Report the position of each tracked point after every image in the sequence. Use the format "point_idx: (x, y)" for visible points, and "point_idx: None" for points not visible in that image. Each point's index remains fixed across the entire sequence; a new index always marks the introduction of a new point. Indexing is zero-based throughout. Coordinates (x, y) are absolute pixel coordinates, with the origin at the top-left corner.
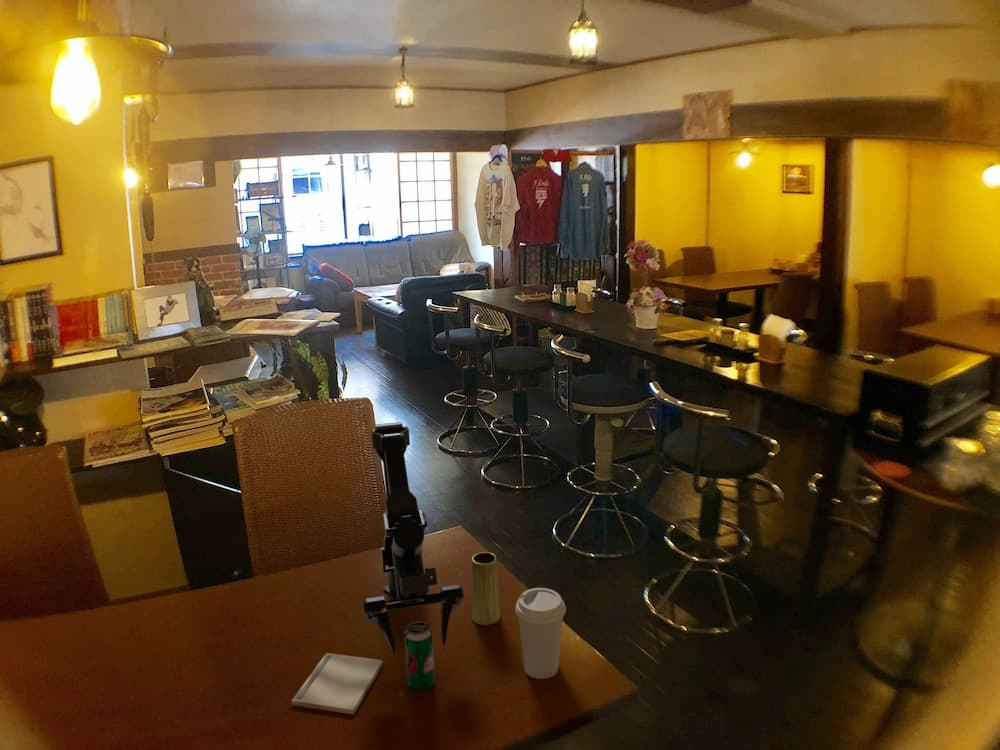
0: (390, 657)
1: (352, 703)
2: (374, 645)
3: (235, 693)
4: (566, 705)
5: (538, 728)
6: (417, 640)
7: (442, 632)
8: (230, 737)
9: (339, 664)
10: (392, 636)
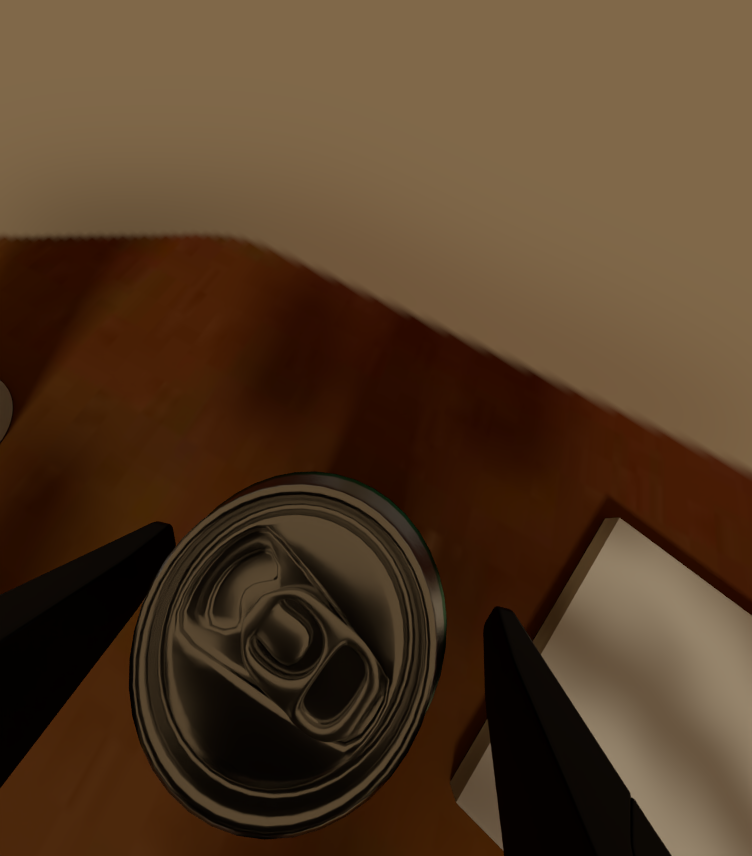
0: (403, 831)
1: (619, 552)
2: None
3: None
4: (36, 263)
5: (155, 236)
6: (360, 487)
7: (94, 577)
8: None
9: None
10: (551, 740)
